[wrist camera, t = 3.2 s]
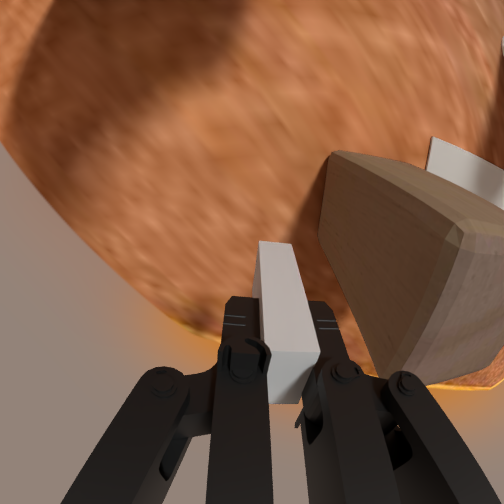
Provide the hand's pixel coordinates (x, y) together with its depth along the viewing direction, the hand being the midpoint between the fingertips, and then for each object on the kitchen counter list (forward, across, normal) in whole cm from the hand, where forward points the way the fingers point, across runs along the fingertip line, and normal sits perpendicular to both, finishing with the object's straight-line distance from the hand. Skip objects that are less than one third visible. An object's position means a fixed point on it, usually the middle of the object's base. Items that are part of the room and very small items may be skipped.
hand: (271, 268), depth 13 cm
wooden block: (+16, +11, 0) cm, 19 cm away
